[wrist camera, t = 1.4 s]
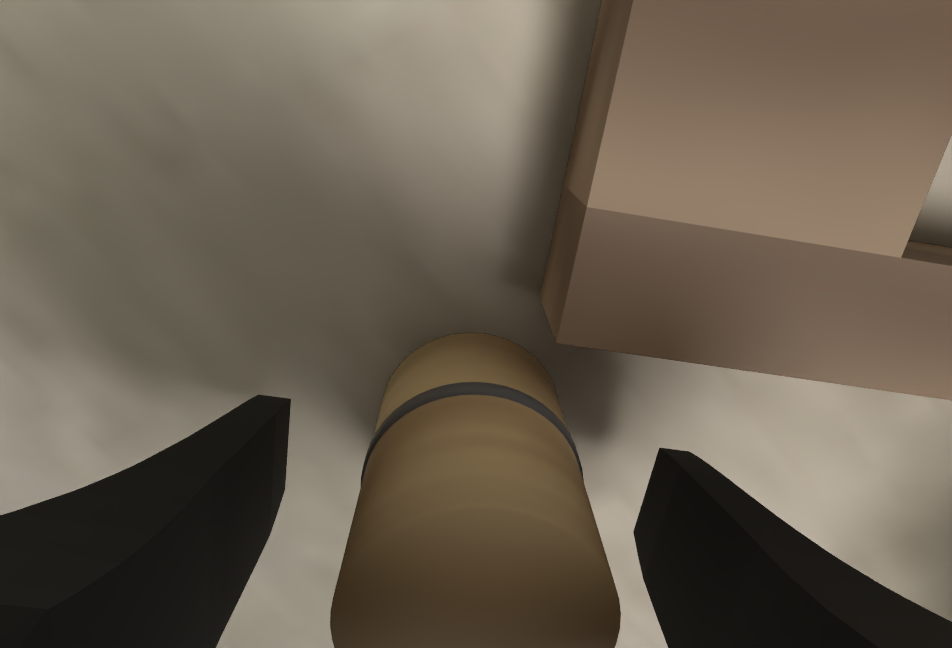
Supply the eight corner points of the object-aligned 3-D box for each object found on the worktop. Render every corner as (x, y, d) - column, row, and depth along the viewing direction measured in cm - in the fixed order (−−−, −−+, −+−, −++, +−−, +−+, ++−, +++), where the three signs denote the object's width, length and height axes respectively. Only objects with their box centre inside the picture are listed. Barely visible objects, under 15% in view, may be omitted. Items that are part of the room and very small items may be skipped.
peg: (541, 500, 15) (587, 743, 10) (370, 479, 15) (315, 718, 9) (578, 345, 14) (657, 524, 8) (390, 318, 13) (339, 485, 8)
